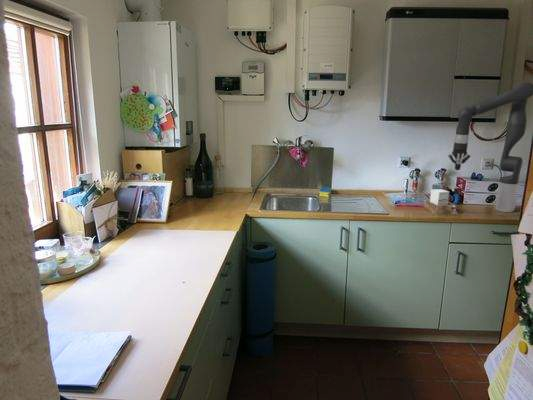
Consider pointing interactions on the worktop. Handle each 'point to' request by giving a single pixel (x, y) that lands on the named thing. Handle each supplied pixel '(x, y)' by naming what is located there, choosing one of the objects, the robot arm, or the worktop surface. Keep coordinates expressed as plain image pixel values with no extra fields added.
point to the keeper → (439, 208)
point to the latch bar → (452, 204)
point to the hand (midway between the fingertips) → (457, 169)
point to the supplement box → (439, 197)
